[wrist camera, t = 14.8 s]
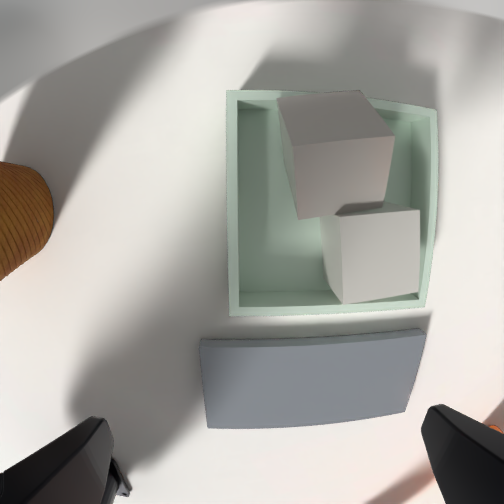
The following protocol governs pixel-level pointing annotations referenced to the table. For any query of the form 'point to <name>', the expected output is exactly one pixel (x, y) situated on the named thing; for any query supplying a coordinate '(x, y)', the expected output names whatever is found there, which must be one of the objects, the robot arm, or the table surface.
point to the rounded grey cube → (371, 253)
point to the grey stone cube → (334, 152)
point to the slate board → (308, 379)
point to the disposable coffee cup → (22, 215)
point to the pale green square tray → (308, 230)
